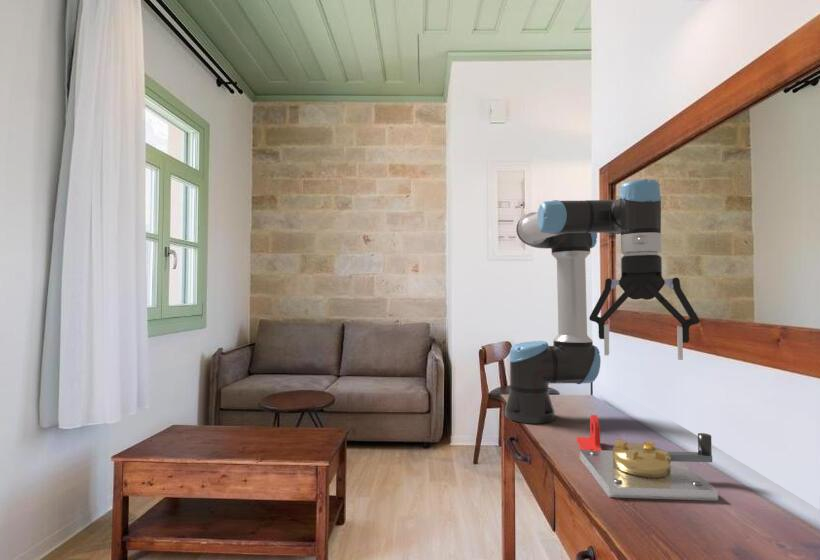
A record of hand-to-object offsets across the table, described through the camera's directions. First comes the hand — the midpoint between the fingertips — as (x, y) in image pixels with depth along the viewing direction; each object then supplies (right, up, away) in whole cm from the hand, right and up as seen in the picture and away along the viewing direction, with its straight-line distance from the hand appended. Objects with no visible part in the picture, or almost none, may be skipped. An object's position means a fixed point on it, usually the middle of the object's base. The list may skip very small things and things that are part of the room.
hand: (642, 356), depth 94 cm
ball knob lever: (+5, -24, +2) cm, 25 cm away
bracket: (-3, -27, +19) cm, 33 cm away
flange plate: (+1, -26, +3) cm, 26 cm away
